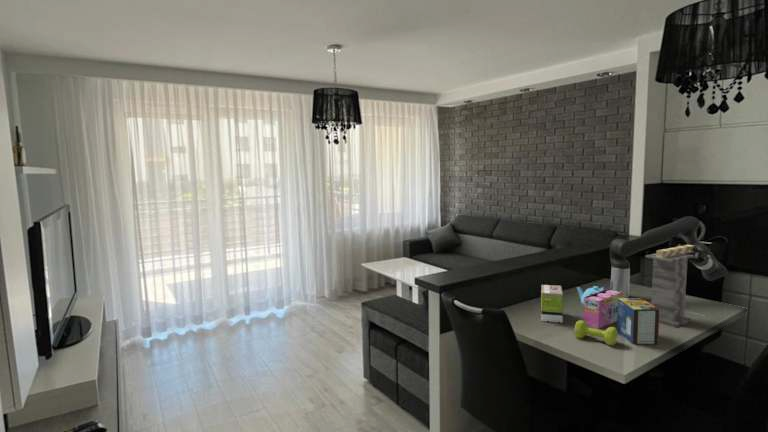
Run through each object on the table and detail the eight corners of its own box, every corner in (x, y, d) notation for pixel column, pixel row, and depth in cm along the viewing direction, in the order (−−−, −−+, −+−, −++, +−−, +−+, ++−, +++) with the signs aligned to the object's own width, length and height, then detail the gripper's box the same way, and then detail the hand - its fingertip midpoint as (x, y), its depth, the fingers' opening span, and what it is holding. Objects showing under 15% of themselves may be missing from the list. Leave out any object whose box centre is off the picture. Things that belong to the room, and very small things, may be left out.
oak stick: (662, 257, 197) (663, 251, 196) (656, 256, 199) (656, 250, 199) (694, 251, 209) (694, 245, 209) (687, 250, 212) (688, 244, 212)
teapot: (575, 301, 237) (575, 282, 236) (603, 301, 236) (603, 282, 235) (585, 310, 222) (586, 290, 221) (615, 310, 221) (616, 290, 219)
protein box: (640, 331, 193) (641, 297, 192) (658, 345, 178) (660, 309, 176) (616, 330, 194) (617, 297, 193) (632, 344, 179) (633, 308, 177)
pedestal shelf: (670, 328, 195) (674, 260, 192) (640, 319, 207) (643, 255, 204) (692, 321, 203) (696, 255, 200) (661, 312, 216) (664, 250, 212)
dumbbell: (572, 338, 187) (572, 322, 186) (578, 333, 193) (579, 317, 192) (613, 348, 176) (614, 332, 175) (618, 342, 181) (619, 326, 181)
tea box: (540, 311, 222) (541, 283, 220) (561, 313, 219) (562, 285, 217) (540, 321, 208) (541, 292, 206) (563, 323, 205) (563, 293, 203)
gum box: (608, 313, 216) (609, 287, 215) (624, 318, 210) (625, 291, 209) (582, 324, 203) (583, 296, 201) (598, 329, 196) (600, 300, 195)
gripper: (687, 251, 222) (672, 237, 215) (719, 255, 210) (704, 241, 202) (682, 264, 221) (667, 251, 214) (714, 269, 209) (699, 256, 201)
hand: (685, 246), depth 208 cm, fingers open, 5 cm apart
